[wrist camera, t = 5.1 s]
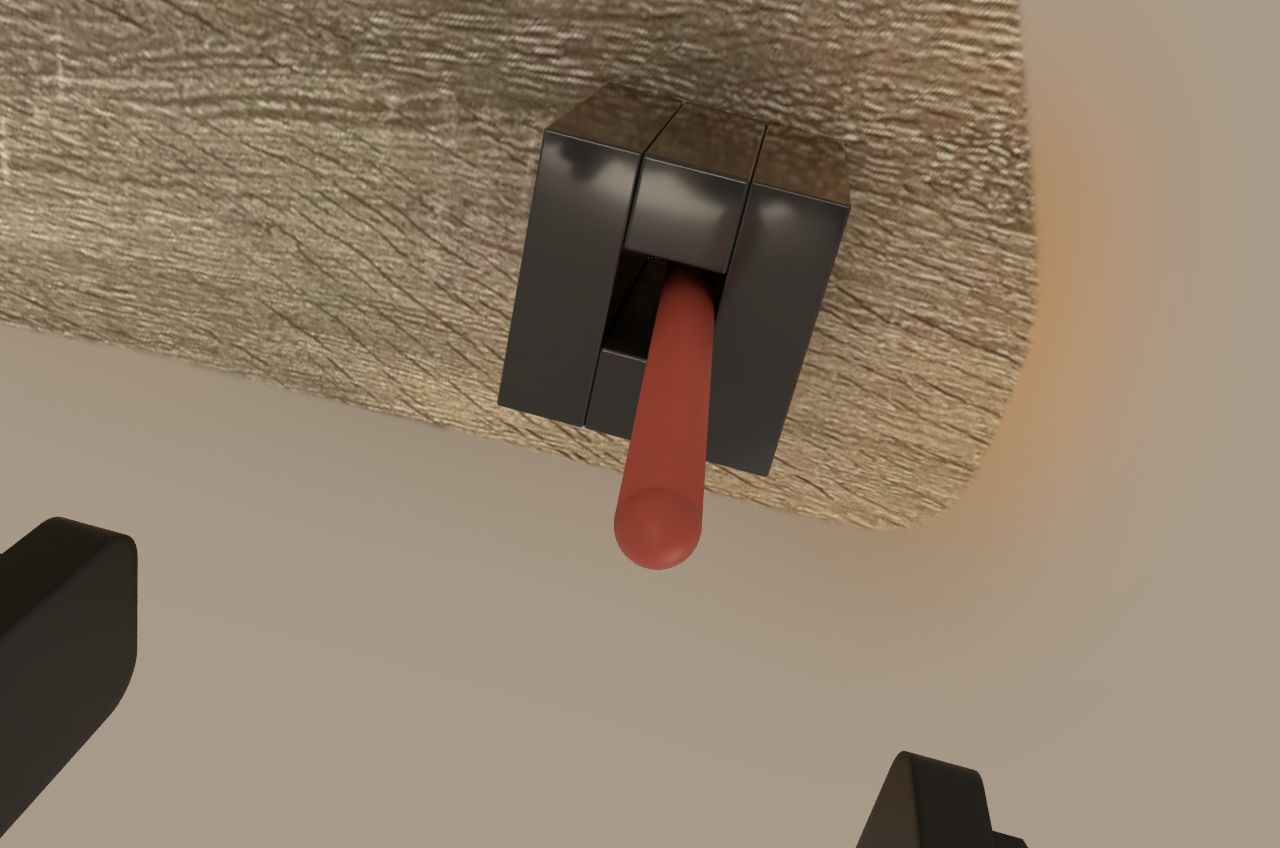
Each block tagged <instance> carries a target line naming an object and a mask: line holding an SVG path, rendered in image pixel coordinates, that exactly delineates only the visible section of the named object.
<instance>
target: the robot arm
mask: <svg viewBox="0 0 1280 848" xmlns="http://www.w3.org/2000/svg"><path fill="white" fill-rule="evenodd" d="M137 558H138V557H137V548H136V544H135V542H134V540H133V539H132V538H131V537H129V536H128V535H125V534H121V533H117V532H113V531H110V530H106V529H103V528H99V527H95V526H92V525H88V524H85V523H81V522H77V521H74V520H70V519H66V518H63V517H53V518H51V519H48V520H46V521H44V522H43V523H41V524H40V525H39V526H38V527H36V528H35V529H33V530H32V531H31V532H30V533H29V534H27V535H26V536H25V537H23V538H22V539H21V540H19V541H18V542H17V543H15V544H14V545H13V546H12V547H10V548H9V549H8V550H6V551H5V552H4V553H3V554H0V838H1V837H2V836H3V834H4V833H5V832H6V831H7V830H8V829H9V828H10V827H11V826H12V824H13V823H14V822H15V821H16V820H17V819H18V818H19V817H20V815H21V814H22V813H23V812H24V811H25V810H26V809H27V808H28V806H29V805H30V804H31V803H32V802H33V801H34V800H35V799H36V797H37V796H38V795H39V794H40V793H41V792H42V791H43V790H44V789H45V787H46V786H47V785H48V784H49V783H50V782H51V781H52V780H53V778H54V777H55V776H56V775H57V774H58V773H59V772H60V771H61V769H62V768H63V767H64V766H65V765H66V764H67V763H68V762H69V761H70V759H71V758H72V757H73V756H74V755H75V754H76V753H77V751H78V750H79V749H80V748H81V747H82V746H83V745H84V744H85V743H86V741H87V740H88V739H89V738H90V737H91V736H92V735H93V734H94V732H95V731H96V730H97V729H98V728H99V727H100V726H101V725H102V723H103V722H104V721H105V720H106V719H107V718H108V717H109V716H110V714H111V713H112V712H113V711H114V709H115V708H116V707H117V705H118V704H119V702H120V700H121V699H122V697H123V695H124V693H125V691H126V689H127V687H128V685H129V682H130V679H131V677H132V674H133V671H134V667H135V663H136V657H137V566H138V559H137ZM856 848H1028V847H1027V845H1026V844H1025V842H1024V841H1023V839H1020V838H1017V837H1013V836H1009V835H1006V834H1002V833H998V832H995V831H992V827H991V822H990V817H989V812H988V806H987V801H986V796H985V791H984V786H983V782H982V779H981V777H980V774H979V773H978V772H977V771H975V770H972V769H968V768H965V767H961V766H958V765H954V764H950V763H946V762H943V761H939V760H936V759H932V758H929V757H924V756H921V755H917V754H914V753H910V752H906V751H902V752H900V753H899V754H898V755H897V757H896V758H895V760H894V762H893V764H892V766H891V768H890V770H889V773H888V775H887V777H886V779H885V782H884V784H883V786H882V789H881V791H880V793H879V796H878V798H877V800H876V803H875V805H874V807H873V809H872V812H871V814H870V816H869V818H868V821H867V823H866V825H865V828H864V830H863V832H862V835H861V837H860V839H859V842H858V844H857V846H856Z"/></svg>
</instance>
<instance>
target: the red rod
mask: <svg viewBox="0 0 1280 848" xmlns="http://www.w3.org/2000/svg"><path fill="white" fill-rule="evenodd" d="M716 284H717V273H716V272H712V271H708V270H705V269H701V268H697V267H693V266H689V265H685V264H681V263H677V262H674V261H670V260H668V261H667V266H666V271H665V276H664V281H663V285H662V290H661V295H660V300H659V305H658V310H657V315H656V319H655V324H654V329H653V334H652V339H651V344H650V348H649V353H648V358H647V363H646V368H645V373H644V378H643V382H642V387H641V392H640V397H639V402H638V407H637V411H636V416H635V421H634V426H633V431H632V436H631V441H630V445H629V450H628V455H627V460H626V465H625V470H624V475H623V479H622V484H621V489H620V494H619V499H618V504H617V508H616V513H615V519H614V532H615V537H616V540H617V543H618V545H619V547H620V549H621V550H622V552H623V553H624V554H625V555H626V556H627V557H628V558H629V559H630V560H632V561H633V562H634V563H635V564H638V565H639V566H641V567H644V568H648V569H654V570H662V569H667V568H671V567H673V566H676V565H678V564H679V563H681V562H683V561H684V560H686V559H687V558H688V557H689V556H690V555H691V553H692V552H693V550H694V549H695V548H696V546H697V544H698V541H699V538H700V534H701V526H702V510H703V494H704V478H705V462H706V446H707V430H708V413H709V397H710V381H711V365H712V349H713V333H714V317H715V301H716Z"/></svg>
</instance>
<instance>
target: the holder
mask: <svg viewBox="0 0 1280 848" xmlns="http://www.w3.org/2000/svg"><path fill="white" fill-rule="evenodd" d="M850 210H851V202H850V192H849V182H848V172H847V161H846V151H845V142H844V141H842V140H838V139H834V138H830V137H826V136H822V135H818V134H814V133H810V132H806V131H802V130H798V129H794V128H790V127H786V126H782V125H778V124H774V123H768V125H767V123H766V122H765V121H761V120H757V119H753V118H749V117H745V116H741V115H737V114H733V113H729V112H725V111H721V110H717V109H713V108H709V107H705V106H701V105H697V104H693V103H690V102H685V103H684V104H683V101H682V100H679V99H675V98H671V97H667V96H663V95H659V94H655V93H651V92H647V91H643V90H639V89H635V88H631V87H627V86H623V85H619V84H615V83H611V82H609V83H607V84H606V85H604V86H603V87H602V88H600V89H599V90H597V91H596V92H595V93H593V94H592V95H591V96H589V97H588V98H586V99H585V100H584V101H582V102H581V103H580V104H578V105H577V106H575V107H574V108H573V109H571V110H570V111H569V112H567V113H566V114H565V115H563V116H562V117H560V118H559V119H558V120H556V121H555V122H554V123H552V124H551V125H549V126H548V127H547V128H545V130H544V134H543V140H542V146H541V152H540V158H539V163H538V169H537V175H536V181H535V186H534V192H533V198H532V204H531V210H530V215H529V221H528V227H527V233H526V238H525V244H524V250H523V256H522V262H521V267H520V273H519V279H518V285H517V291H516V296H515V302H514V308H513V314H512V319H511V325H510V331H509V337H508V343H507V348H506V354H505V360H504V366H503V371H502V377H501V383H500V389H499V395H498V400H497V404H498V405H499V406H503V407H507V408H510V409H514V410H518V411H522V412H525V413H529V414H533V415H537V416H540V417H544V418H548V419H552V420H555V421H559V422H563V423H567V424H570V425H574V426H578V427H583V426H585V428H587V429H590V430H594V431H598V432H602V433H605V434H609V435H613V436H617V437H620V438H624V439H628V440H631V436H632V431H633V426H634V421H635V416H636V411H637V407H638V402H639V397H640V392H641V387H642V382H643V378H644V373H645V368H646V363H647V358H648V353H649V348H650V344H651V339H652V334H653V329H654V324H655V319H656V315H657V310H658V305H659V300H660V295H661V290H662V285H663V281H664V276H665V271H666V266H667V262H666V261H662V260H658V259H654V258H648V256H649V255H650V256H654V257H658V258H662V259H666V260H670V261H674V262H677V263H681V264H685V265H689V266H693V267H697V268H701V269H705V270H708V271H712V272H716V273H720V274H726V273H727V276H726V278H725V277H724V276H720V275H717V284H716V301H715V317H714V333H713V349H712V365H711V381H710V397H709V413H708V430H707V446H706V461H708V462H712V463H716V464H720V465H723V466H727V467H731V468H734V469H738V470H742V471H746V472H749V473H753V474H757V475H761V476H764V477H767V476H768V474H769V471H770V467H771V464H772V461H773V458H774V455H775V451H776V448H777V445H778V442H779V439H780V435H781V432H782V429H783V426H784V422H785V419H786V416H787V413H788V410H789V406H790V403H791V400H792V397H793V393H794V390H795V387H796V384H797V381H798V377H799V374H800V371H801V368H802V364H803V361H804V358H805V355H806V352H807V348H808V345H809V342H810V339H811V335H812V332H813V329H814V326H815V323H816V319H817V316H818V313H819V310H820V306H821V303H822V300H823V297H824V294H825V290H826V287H827V284H828V281H829V278H830V274H831V271H832V268H833V265H834V261H835V258H836V255H837V252H838V249H839V245H840V242H841V239H842V236H843V232H844V229H845V226H846V223H847V220H848V216H849V213H850ZM727 271H728V272H727Z"/></svg>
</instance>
